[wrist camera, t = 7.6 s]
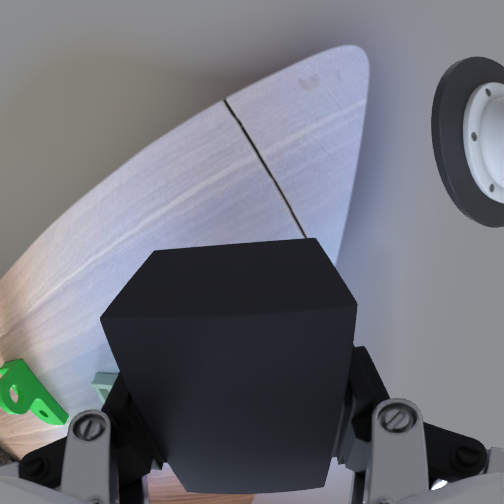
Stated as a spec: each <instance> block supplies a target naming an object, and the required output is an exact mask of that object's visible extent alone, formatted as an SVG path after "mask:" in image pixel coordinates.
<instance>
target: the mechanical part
mask: <svg viewBox="0 0 504 504" xmlns="http://www.w3.org/2000/svg"><path fill="white" fill-rule="evenodd" d="M0 373H1V374H2V377H1V379H0V406H1V408H2V409H3V410H4V411H6V412H7V413H10V414H24V413H26V412H27V411H28V410H29V409H30V410H31V411H32V412H33V413H34V414H35V415H36V416H37V417H38V418H40V419H41V420H43V421H44V422H46V423H48V424H52V425H65V423H66V421H67V419H68V417H69V416H68V415H67V414H66V412H65V411H64V410H63V409H62V408H61V407H60V406H59V405H58V404H57V402H56V401H55V400H54V399H53V398H52V397H51V396H50V394H49V393H48V392H47V391H46V390H45V388H44V387H43V386H42V385H41V383H40V382H39V381H38V380H37V378H36V377H35V376H34V374H33V373H32V372H31V371H30V369H29V368H28V367H27V365H26V364H25V362H24V361H23V360H22V359H18V360H14V361H10V362H6V363H4V364H3V365H2V367H1V368H0ZM10 387H12V388H13V390H14V391H15V392H16V393H17V395H18V401H17V403H15V402H14V401H13V400H12V399H11V397H10V393H9V391H10Z"/></svg>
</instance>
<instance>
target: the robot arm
mask: <svg viewBox="0 0 504 504" xmlns="http://www.w3.org/2000/svg"><path fill="white" fill-rule="evenodd" d="M463 141H464V149H465V154H466V158H467V163H468V166H469V168H470V171H471V174H472V176H473V178H474V180H475V182H476V184H477V185H478V187H479V188H480V189H481V191H482V192H483V193H484V194H485V195H486V196H488V197H489V198H491V199H493V200H495V201H498V202H501V203H504V85H503V84H501V83H496V82H492V83H485V84H482V85H480V86H479V87H477V88H476V89H475V90H474V91H473V92H472V94H471V95H470V97H469V99H468V102H467V104H466V108H465V112H464V120H463ZM331 457H337V460H338V464H339V465H340V464H345V465H346V468H348V469H350V470H352V471H353V476H352V484H351V492H350V499H349V504H504V449H502V448H496V447H491V448H490V449H489V450H487V449H485V447H484V445H483V444H482V443H480V441H478V440H476V439H474V438H470V437H467V436H464V435H461V434H458V433H454V432H451V431H448V430H445V429H442V428H439V427H436V426H434V425H431V424H428V423H425V422H423V418H422V414H421V411H420V409H419V408H418V407H417V406H416V405H415V404H414V403H412V402H411V401H408V400H406V399H400V398H393V399H390V397H389V395H388V393H387V391H386V388H385V386H384V384H383V382H382V380H381V378H380V376H379V374H378V372H377V370H376V367H375V365H374V363H373V362H372V359H371V357H370V355H369V353H368V351H367V350H366V348H365V347H364V346H360V347H355V346H354V344H353V348H352V355H351V362H350V369H349V375H348V381H347V387H346V393H345V397H344V398H343V403H342V409H341V414H340V419H339V424H338V429H337V433H336V438H335V442H334V447H333V451H332V455H331ZM163 463H167V460H166V458H165V457H164V455H163V453H162V452H161V450H160V448H159V446H158V445H157V443H156V441H155V439H154V438H153V436H152V434H151V432H150V430H149V429H148V427H147V425H146V423H145V421H144V419H143V417H142V415H141V413H140V411H139V409H138V407H137V405H136V404H135V402H134V400H133V398H132V396H131V394H130V392H129V390H128V388H127V386H126V383H125V381H124V379H123V377H122V374H121V372H119V374H118V376H117V378H116V380H115V382H114V384H113V386H112V388H111V390H110V392H109V394H108V397H107V399H106V401H105V403H104V405H103V407H102V409H101V411H99V410H87V411H84V412H81V413H79V414H78V415H77V416H75V417H74V418H73V420H72V421H71V422H70V425H69V429H68V434H67V436H66V437H64V438H62V439H59V440H57V441H55V442H53V443H50V444H48V445H46V446H44V447H41V448H39V449H36V450H34V451H32V452H30V453H28V454H26V455H25V456H24V457H23V458H22V460H21V462H20V464H19V463H18V462H17V461H16V462H13V463H9V464H5V465H1V466H0V504H150V501H149V493H148V484H147V476H146V475H147V474H149V473H150V470H151V469H156V470H162V466H163Z"/></svg>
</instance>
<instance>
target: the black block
mask: <svg viewBox="0 0 504 504" xmlns="http://www.w3.org/2000/svg"><path fill="white" fill-rule="evenodd" d="M356 313H357V302H356V300H355V298H354V297H353V295H352V294H351V292H350V290H349V289H348V287H347V286H346V284H345V283H344V281H343V279H342V278H341V276H340V275H339V273H338V272H337V270H336V268H335V267H334V265H333V264H332V262H331V261H330V259H329V258H328V256H327V254H326V253H325V251H324V250H323V248H322V247H321V245H320V244H319V242H318V241H317V239H316V238H305V239H291V240H278V241H265V242H252V243H240V244H227V245H215V246H203V247H191V248H179V249H167V250H155V251H154V252H153V253H152V254H151V255H150V256H149V257H148V259H147V260H146V261H145V262H144V263H143V264H142V266H141V267H140V268H139V269H138V270H137V272H136V273H135V274H134V275H133V277H132V278H131V279H130V280H129V281H128V283H127V284H126V285H125V286H124V288H123V289H122V290H121V291H120V293H119V294H118V295H117V296H116V298H115V299H114V300H113V301H112V303H111V304H110V305H109V306H108V308H107V309H106V310H105V312H104V313H103V314H102V316H101V317H100V321H101V324H102V327H103V330H104V332H105V335H106V338H107V340H108V343H109V346H110V348H111V351H112V353H113V356H114V358H115V360H116V363H117V365H118V367H119V370H120V372H121V374H122V377H123V379H124V381H125V383H126V386H127V388H128V390H129V392H130V394H131V396H132V398H133V400H134V402H135V404H136V405H137V407H138V409H139V411H140V413H141V415H142V417H143V419H144V421H145V423H146V425H147V427H148V429H149V430H150V432H151V434H152V436H153V438H154V439H155V441H156V443H157V445H158V446H159V448H160V450H161V452H162V453H163V455H164V457H165V458H166V460H167V462H168V464H169V465H170V467H171V469H172V470H173V472H174V473H175V475H176V476H177V478H178V479H179V481H180V482H181V484H182V485H183V487H184V488H185V490H186V491H187V492H196V493H214V494H258V493H274V492H275V493H276V492H288V491H297V490H306V489H314V488H321V487H324V485H325V481H326V478H327V474H328V470H329V466H330V462H331V458H332V457H331V455H332V451H333V447H334V442H335V438H336V433H337V429H338V424H339V419H340V414H341V409H342V403H343V398H344V397H345V393H346V387H347V381H348V375H349V369H350V362H351V355H352V348H353V340H354V331H355V323H356Z"/></svg>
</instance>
